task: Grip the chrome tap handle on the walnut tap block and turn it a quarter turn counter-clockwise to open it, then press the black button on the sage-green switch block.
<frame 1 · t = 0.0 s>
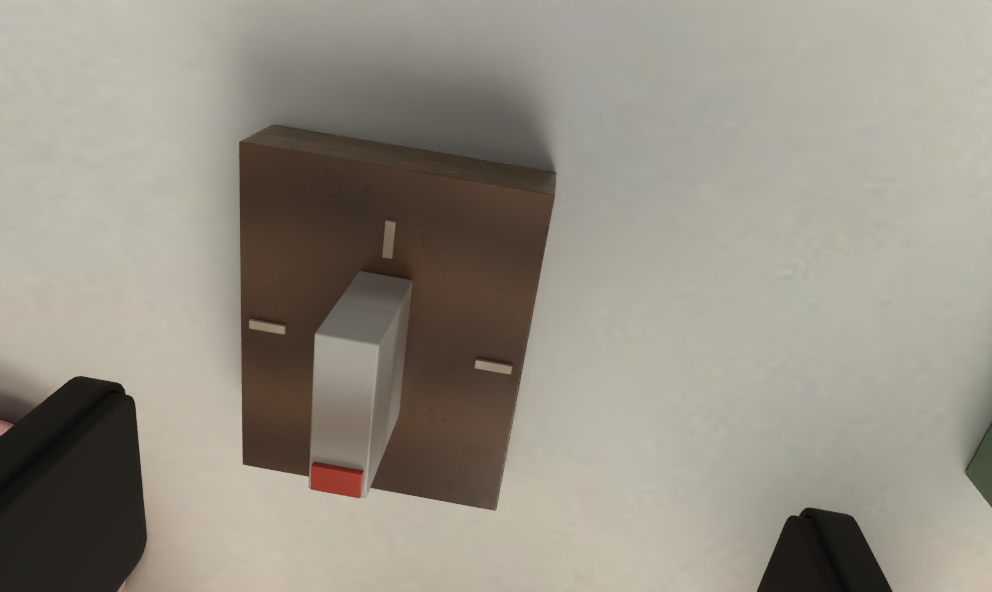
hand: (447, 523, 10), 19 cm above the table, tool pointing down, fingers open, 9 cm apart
tap block: (398, 311, 30), on the table
tap handle: (361, 381, 25), point 6 cm above the table, hinge at 0.0°
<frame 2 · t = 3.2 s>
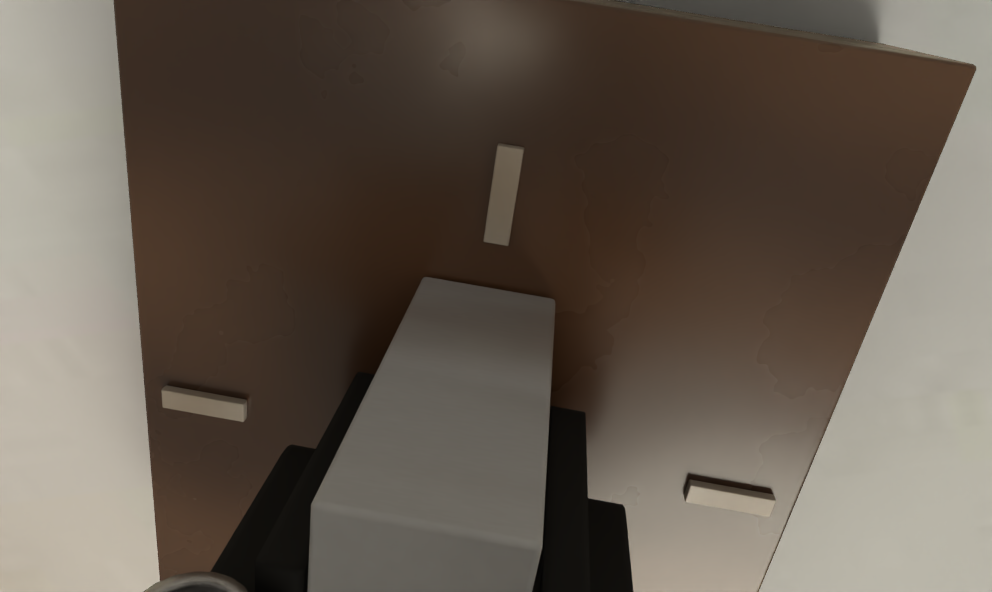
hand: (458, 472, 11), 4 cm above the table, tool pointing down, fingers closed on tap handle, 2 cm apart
tap block: (485, 358, 14), on the table
tap handle: (436, 570, 9), point 6 cm above the table, hinge at 0.0°, touching gripper
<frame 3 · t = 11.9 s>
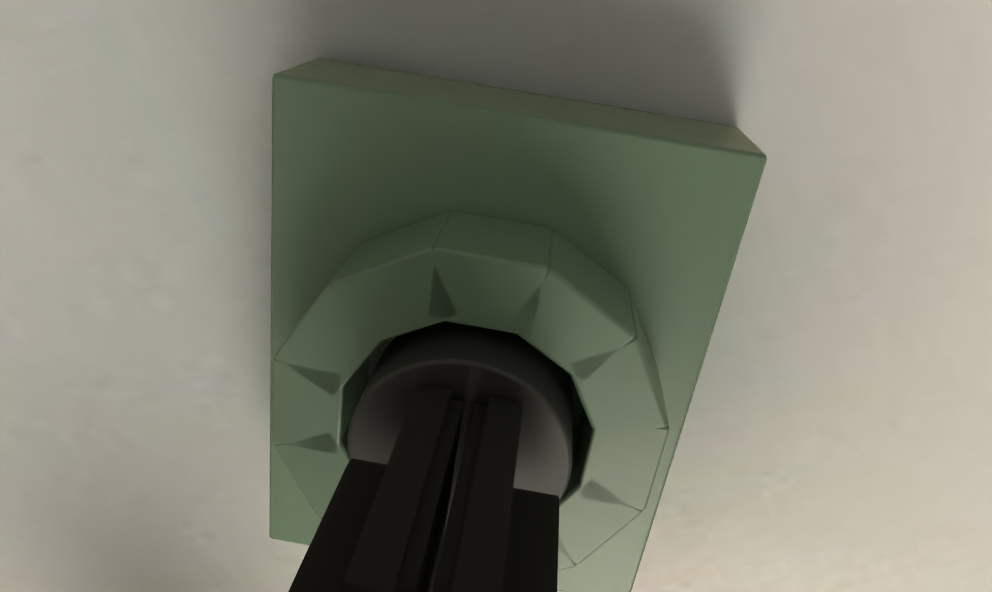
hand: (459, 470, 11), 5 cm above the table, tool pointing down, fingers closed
button: (465, 427, 12), point 4 cm above the table, slide at -0.7 cm, touching gripper
switch block: (488, 326, 15), on the table
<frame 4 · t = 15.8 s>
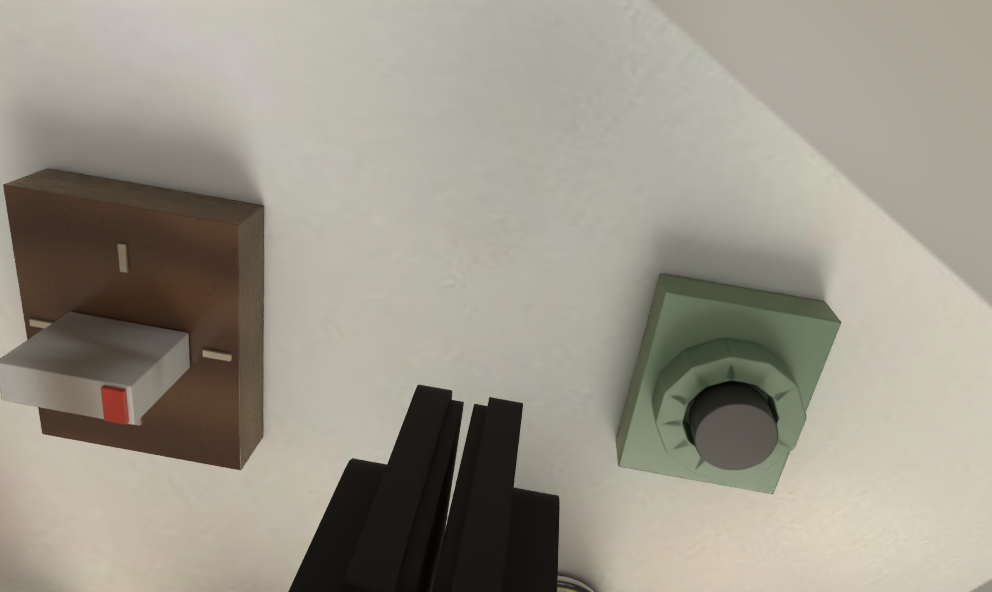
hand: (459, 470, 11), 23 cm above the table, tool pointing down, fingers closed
button: (732, 426, 32), point 4 cm above the table, slide at 0.1 cm
tap block: (163, 312, 38), on the table
tap handle: (98, 366, 33), point 6 cm above the table, hinge at 89.8°
switch block: (714, 375, 36), on the table
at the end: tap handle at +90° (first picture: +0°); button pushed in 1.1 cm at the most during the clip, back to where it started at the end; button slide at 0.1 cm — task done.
